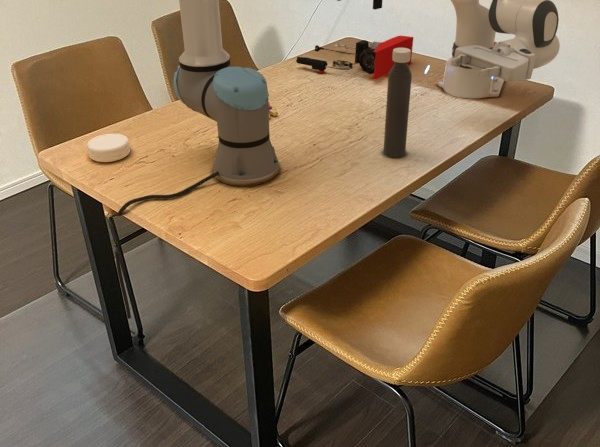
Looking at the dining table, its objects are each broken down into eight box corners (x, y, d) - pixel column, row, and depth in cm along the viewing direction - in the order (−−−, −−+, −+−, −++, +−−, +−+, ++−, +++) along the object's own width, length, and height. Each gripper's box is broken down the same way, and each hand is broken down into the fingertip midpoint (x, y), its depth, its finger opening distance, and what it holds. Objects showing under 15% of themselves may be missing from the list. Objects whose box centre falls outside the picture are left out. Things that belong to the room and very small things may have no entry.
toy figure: (281, 107, 173) (253, 94, 180) (262, 114, 169) (235, 100, 176) (281, 115, 175) (253, 102, 182) (262, 122, 171) (235, 108, 178)
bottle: (408, 155, 152) (417, 54, 138) (388, 159, 150) (396, 56, 137) (399, 147, 156) (407, 47, 142) (379, 150, 154) (386, 49, 141)
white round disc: (100, 166, 148) (97, 153, 146) (82, 153, 155) (79, 140, 153) (137, 154, 154) (135, 141, 152) (119, 141, 160) (116, 129, 158)
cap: (413, 61, 139) (414, 51, 138) (396, 63, 138) (397, 53, 137) (405, 56, 143) (406, 46, 141) (389, 58, 142) (389, 48, 140)
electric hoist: (295, 37, 203) (374, 52, 188) (338, 23, 222) (414, 35, 207) (294, 67, 208) (372, 84, 193) (337, 51, 227) (411, 65, 212)
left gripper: (410, -82, 149) (403, 9, 160) (338, -89, 165) (337, -6, 176) (388, -79, 145) (383, 15, 156) (317, -87, 161) (317, -2, 172)
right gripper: (479, 36, 165) (439, 45, 159) (540, 55, 150) (499, 66, 144) (475, 59, 168) (437, 69, 162) (535, 81, 153) (495, 92, 147)
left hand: (358, 4), depth 166 cm, fingers open, 13 cm apart
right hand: (466, 67), depth 153 cm, fingers open, 8 cm apart
